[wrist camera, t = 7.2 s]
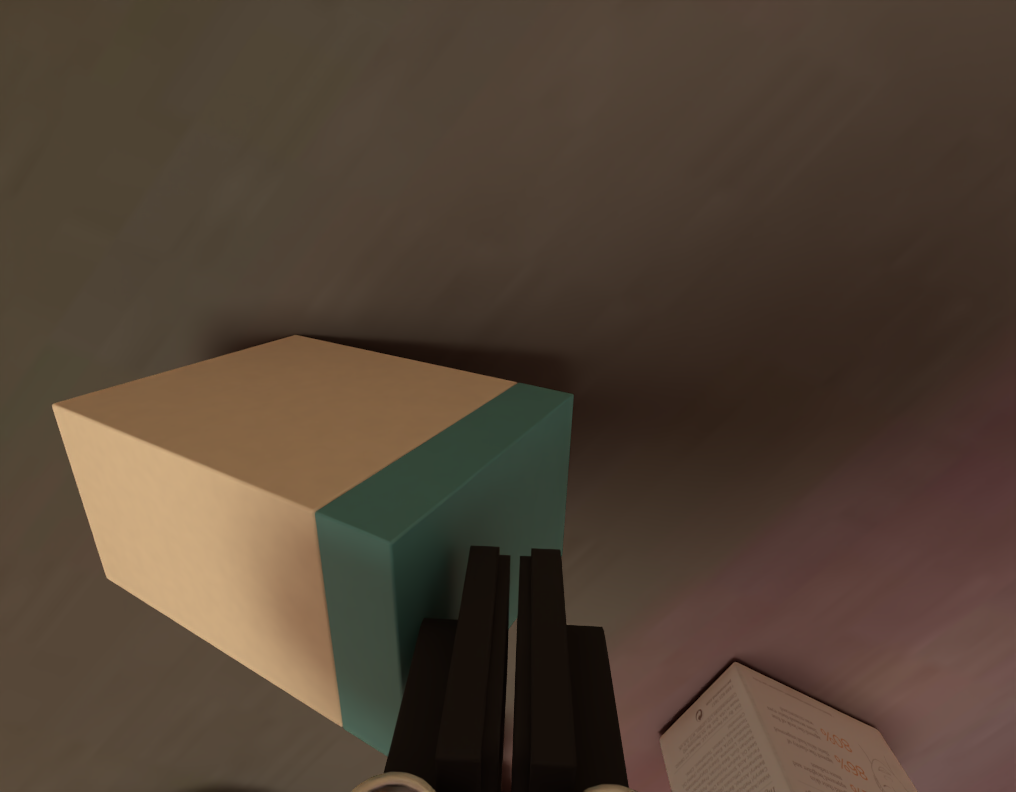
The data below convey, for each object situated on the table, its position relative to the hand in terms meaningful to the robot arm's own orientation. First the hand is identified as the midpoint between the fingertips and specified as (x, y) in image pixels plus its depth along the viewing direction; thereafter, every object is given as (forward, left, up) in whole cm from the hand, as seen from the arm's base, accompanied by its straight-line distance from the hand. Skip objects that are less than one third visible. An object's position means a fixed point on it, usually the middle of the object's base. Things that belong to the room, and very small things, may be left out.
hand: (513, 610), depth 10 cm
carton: (+3, 0, -7) cm, 8 cm away
